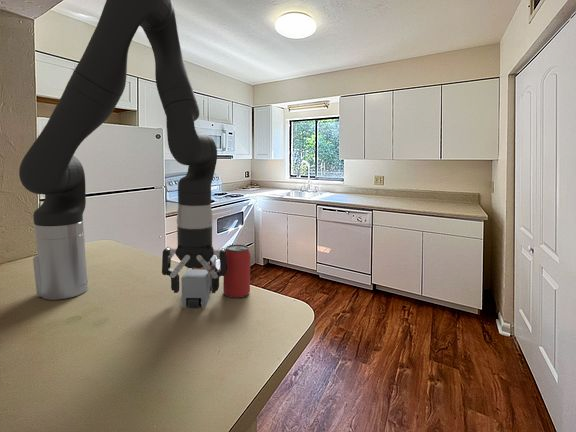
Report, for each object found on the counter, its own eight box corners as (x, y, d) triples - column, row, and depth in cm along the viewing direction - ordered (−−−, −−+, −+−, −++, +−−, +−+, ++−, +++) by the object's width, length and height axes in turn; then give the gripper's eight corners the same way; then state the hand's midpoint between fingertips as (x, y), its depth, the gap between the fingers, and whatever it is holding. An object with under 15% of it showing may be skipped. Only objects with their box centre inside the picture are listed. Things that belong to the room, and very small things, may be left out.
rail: (187, 307, 71) (187, 299, 71) (201, 280, 87) (201, 273, 86) (198, 307, 71) (198, 299, 71) (210, 280, 87) (210, 273, 87)
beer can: (244, 300, 76) (245, 252, 74) (219, 297, 77) (219, 249, 75) (253, 289, 82) (254, 245, 80) (229, 286, 84) (229, 242, 81)
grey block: (182, 307, 71) (181, 278, 70) (188, 296, 77) (187, 268, 76) (205, 307, 72) (205, 278, 70) (209, 296, 77) (209, 269, 76)
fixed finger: (191, 289, 81) (191, 263, 80) (196, 280, 87) (196, 255, 86) (212, 289, 82) (212, 263, 80) (215, 280, 87) (215, 256, 86)
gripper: (229, 221, 75) (228, 286, 78) (167, 219, 74) (168, 285, 77) (225, 228, 68) (224, 299, 70) (156, 226, 67) (158, 298, 69)
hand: (195, 291), depth 74 cm, fingers open, 8 cm apart
